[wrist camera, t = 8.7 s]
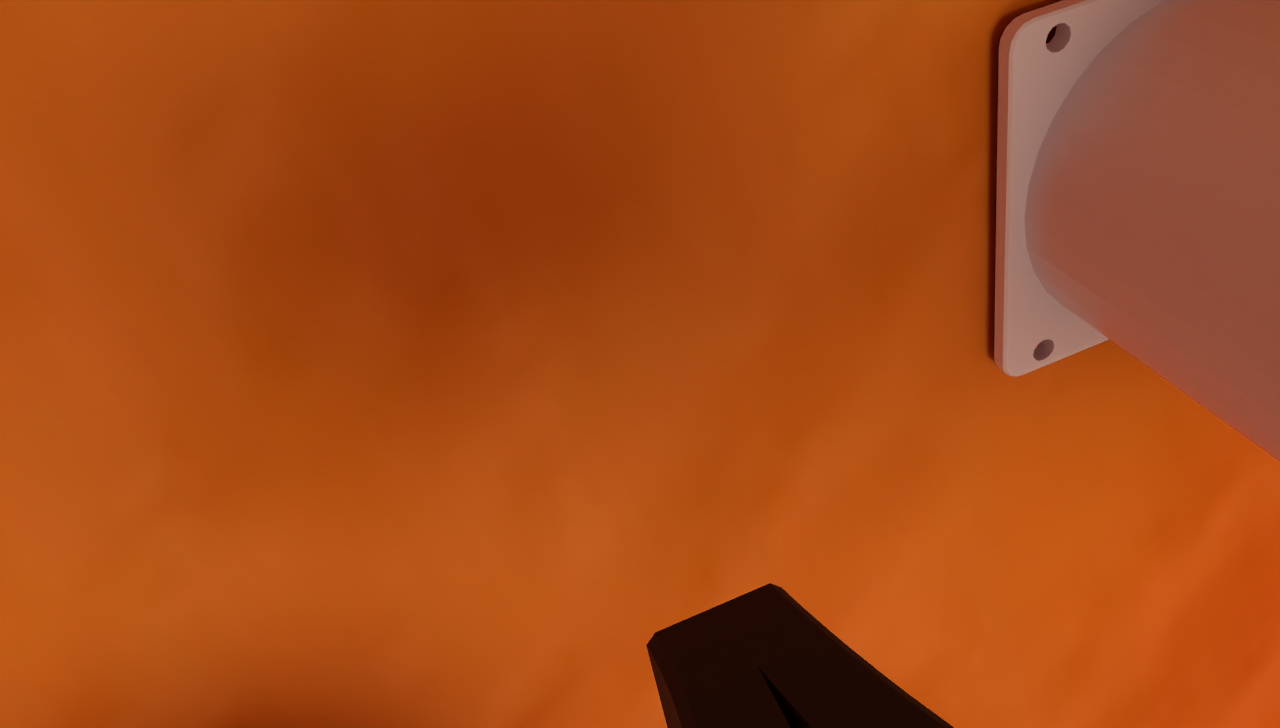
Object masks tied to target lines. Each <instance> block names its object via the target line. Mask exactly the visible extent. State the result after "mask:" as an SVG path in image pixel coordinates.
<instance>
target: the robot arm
mask: <svg viewBox="0 0 1280 728" xmlns="http://www.w3.org/2000/svg"><path fill="white" fill-rule="evenodd" d="M1054 26H1056V27H1057V28H1056V32H1055V35H1054V37H1053V38H1052V40H1051V41H1050V42H1049V43H1047V44H1046V39H1047V35H1048V33H1049V32H1050V31H1051V29H1052V28H1053V27H1054ZM1109 339H1110V340H1111V341H1112V342H1114V343H1115V344H1117V345H1118V346H1119V347H1121V348H1122V349H1124V350H1125V351H1126V352H1128V353H1129V354H1131V355H1132V356H1133V357H1135V358H1136V359H1138V360H1139V361H1140V362H1142V363H1143V364H1145V365H1146V366H1147V367H1149V368H1150V369H1152V370H1153V371H1154V372H1156V373H1157V374H1159V375H1160V376H1161V377H1163V378H1164V379H1165V380H1167V381H1168V382H1170V383H1171V384H1172V385H1174V386H1175V387H1177V388H1178V389H1179V390H1181V391H1182V392H1184V393H1185V394H1186V395H1188V396H1189V397H1191V398H1192V399H1193V400H1195V401H1196V402H1198V403H1199V404H1200V405H1202V406H1203V407H1205V408H1206V409H1207V410H1209V411H1210V412H1212V413H1213V414H1214V415H1216V416H1217V417H1219V418H1220V419H1221V420H1223V421H1224V422H1226V423H1227V424H1228V425H1230V426H1231V427H1233V428H1234V429H1235V430H1237V431H1238V432H1240V433H1241V434H1242V435H1244V436H1245V437H1247V438H1248V439H1249V440H1251V441H1252V442H1254V443H1255V444H1256V445H1258V446H1259V447H1261V448H1262V449H1263V450H1265V451H1266V452H1268V453H1269V454H1270V455H1272V456H1273V457H1275V458H1276V459H1277V460H1279V461H1280V0H1062V1H1059V2H1056V3H1053V4H1050V5H1048V6H1045V7H1042V8H1039V9H1036V10H1033V11H1030V12H1027V13H1024V14H1022V15H1020V16H1018V17H1016V18H1014V19H1013V20H1012V21H1011V23H1010V24H1009V25H1008V26H1007V27H1006V28H1005V30H1004V32H1003V34H1002V36H1001V39H1000V45H999V69H998V135H997V201H996V268H995V334H994V360H995V364H996V365H997V366H998V367H999V368H1000V369H1001V370H1002V371H1003V372H1004V373H1006V374H1007V375H1008V376H1012V377H1016V376H1021V375H1024V374H1026V373H1029V372H1031V371H1034V370H1036V369H1038V368H1041V367H1043V366H1046V365H1048V364H1051V363H1053V362H1056V361H1058V360H1060V359H1063V358H1065V357H1068V356H1070V355H1073V354H1075V353H1078V352H1080V351H1082V350H1085V349H1087V348H1090V347H1092V346H1095V345H1097V344H1100V343H1102V342H1104V341H1107V340H1109ZM1040 342H1041V343H1040ZM1039 343H1040V344H1039ZM1038 344H1039V345H1038ZM1037 345H1038V347H1037ZM1036 347H1037V348H1036ZM647 649H648V653H649V657H650V661H651V665H652V669H653V673H654V676H655V680H656V684H657V688H658V692H659V696H660V700H661V704H662V707H663V711H664V715H665V719H666V723H667V727H668V728H954V727H952V726H951V725H950V724H948V723H947V722H946V721H944V720H943V719H941V718H940V717H939V716H937V715H936V714H935V713H933V712H932V711H931V710H929V709H928V708H926V707H925V706H924V705H922V704H921V703H920V702H918V701H917V700H916V699H914V698H913V697H911V696H910V695H909V694H907V693H906V692H905V691H904V690H902V689H901V688H900V687H898V686H897V685H896V684H895V683H893V682H892V681H891V680H889V679H888V678H887V677H885V676H884V675H883V674H882V673H880V672H879V671H878V670H877V669H875V668H874V667H873V666H872V665H871V664H869V663H868V662H867V661H866V660H864V659H863V658H862V657H861V656H859V655H858V654H857V653H856V652H854V651H853V650H852V649H851V648H849V647H848V646H847V645H846V644H845V643H843V642H842V641H841V640H840V639H839V638H838V637H836V636H835V635H834V634H833V633H832V632H830V631H829V630H828V629H827V628H826V627H825V626H823V625H822V624H821V623H820V622H819V621H818V620H816V619H815V618H814V617H813V616H812V615H811V614H810V613H809V612H807V611H806V610H805V609H804V608H803V607H802V606H801V605H800V604H799V603H797V602H796V601H795V600H794V599H793V598H792V597H791V596H790V595H789V594H788V593H787V592H786V591H784V590H783V589H782V588H781V587H779V586H776V585H773V584H771V583H770V584H767V585H765V586H763V587H760V588H758V589H756V590H753V591H751V592H749V593H746V594H744V595H742V596H739V597H737V598H735V599H732V600H730V601H728V602H725V603H723V604H721V605H718V606H716V607H714V608H711V609H709V610H707V611H704V612H702V613H700V614H697V615H695V616H693V617H690V618H688V619H686V620H683V621H681V622H679V623H676V624H674V625H672V626H670V627H667V628H665V629H663V630H660V631H658V632H656V633H655V634H654V635H653V637H652V638H651V640H650V641H649V642H648V644H647Z"/></svg>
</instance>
